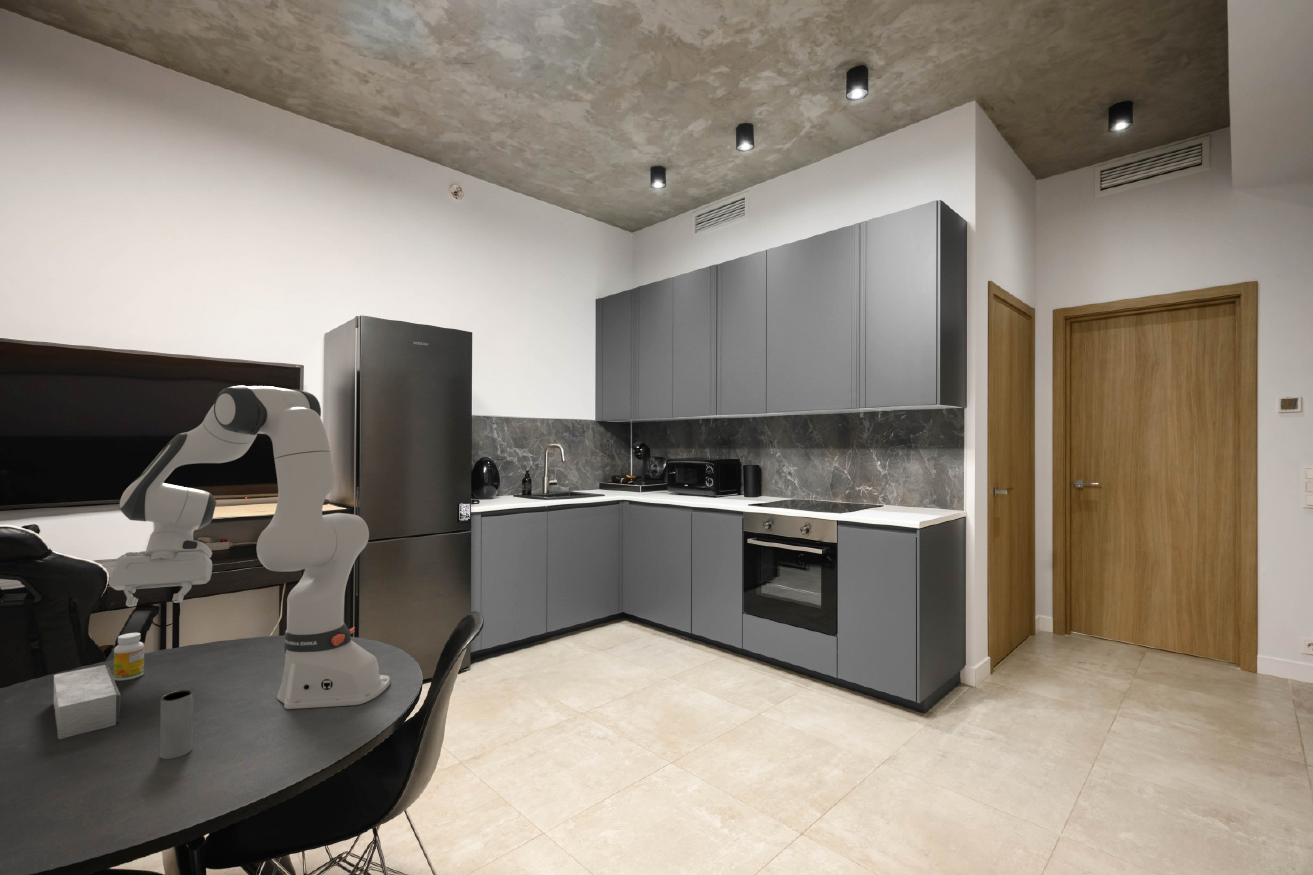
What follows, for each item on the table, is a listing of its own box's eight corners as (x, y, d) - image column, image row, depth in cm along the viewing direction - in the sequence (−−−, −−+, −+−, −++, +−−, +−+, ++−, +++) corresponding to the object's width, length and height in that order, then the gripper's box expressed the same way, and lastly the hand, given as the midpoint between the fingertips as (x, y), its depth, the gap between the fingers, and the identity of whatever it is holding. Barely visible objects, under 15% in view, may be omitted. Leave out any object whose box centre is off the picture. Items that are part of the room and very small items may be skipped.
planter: (166, 762, 105) (166, 702, 105) (155, 754, 107) (156, 696, 107) (196, 750, 109) (197, 693, 109) (185, 743, 111) (186, 687, 111)
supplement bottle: (108, 678, 140) (108, 637, 140) (135, 670, 145) (135, 630, 145) (122, 682, 138) (122, 640, 138) (149, 674, 143) (149, 633, 143)
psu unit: (121, 723, 119) (122, 692, 119) (58, 739, 112) (58, 707, 112) (110, 690, 134) (110, 663, 134) (53, 703, 127) (53, 674, 127)
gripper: (112, 548, 147) (94, 603, 140) (209, 542, 153) (197, 595, 145) (126, 557, 152) (109, 611, 145) (219, 551, 158) (207, 603, 151)
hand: (154, 603), depth 145 cm, fingers open, 8 cm apart
